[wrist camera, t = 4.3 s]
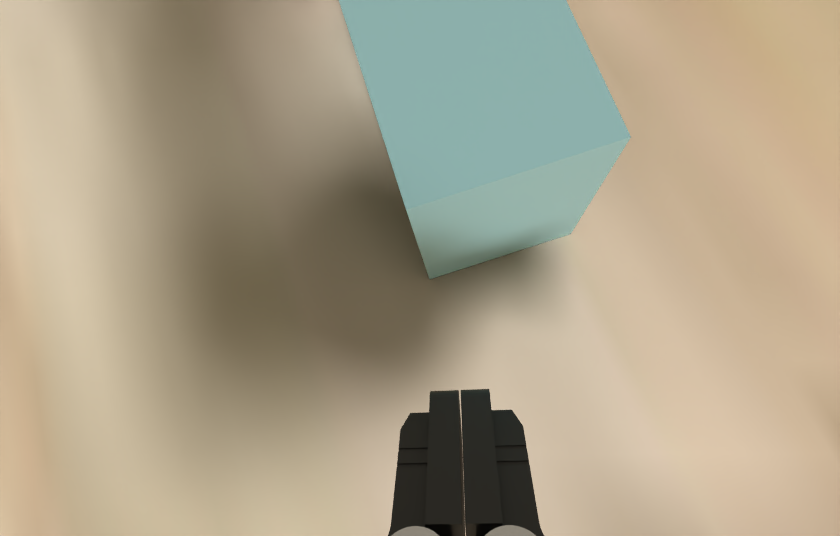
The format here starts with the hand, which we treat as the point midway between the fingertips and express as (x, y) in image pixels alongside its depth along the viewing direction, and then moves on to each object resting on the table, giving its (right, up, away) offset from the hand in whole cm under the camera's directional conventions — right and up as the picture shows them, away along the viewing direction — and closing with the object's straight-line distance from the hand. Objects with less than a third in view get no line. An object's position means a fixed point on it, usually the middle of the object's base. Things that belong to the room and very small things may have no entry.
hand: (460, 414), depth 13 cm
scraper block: (0, +11, +9) cm, 14 cm away
